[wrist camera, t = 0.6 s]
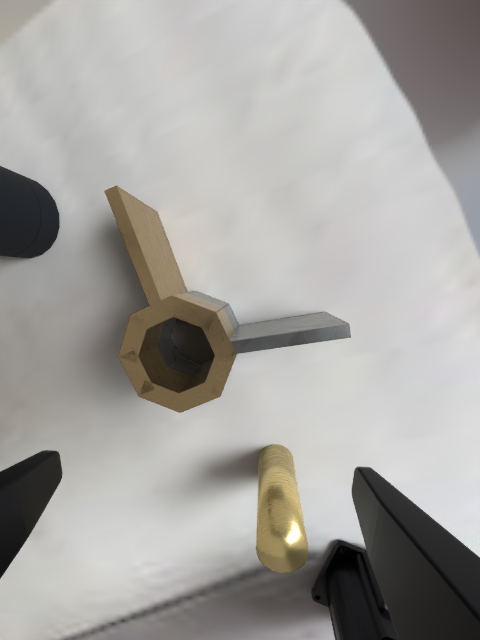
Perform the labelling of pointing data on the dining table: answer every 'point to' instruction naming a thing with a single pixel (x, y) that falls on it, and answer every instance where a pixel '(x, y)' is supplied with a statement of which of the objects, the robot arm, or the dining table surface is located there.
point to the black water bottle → (25, 216)
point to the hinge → (190, 320)
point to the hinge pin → (279, 512)
